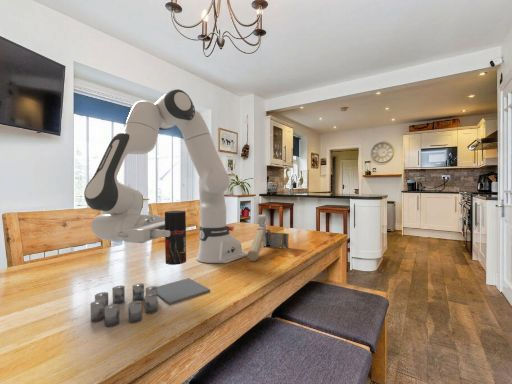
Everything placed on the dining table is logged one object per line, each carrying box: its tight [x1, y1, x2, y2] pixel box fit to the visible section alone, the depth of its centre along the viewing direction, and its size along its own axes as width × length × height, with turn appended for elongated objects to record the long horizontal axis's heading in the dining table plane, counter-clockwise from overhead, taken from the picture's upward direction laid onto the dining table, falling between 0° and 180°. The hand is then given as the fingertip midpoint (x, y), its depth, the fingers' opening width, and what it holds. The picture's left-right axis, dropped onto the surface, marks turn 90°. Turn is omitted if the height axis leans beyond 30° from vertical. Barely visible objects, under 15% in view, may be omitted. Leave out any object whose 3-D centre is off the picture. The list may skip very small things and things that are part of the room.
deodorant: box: [164, 210, 187, 266], centre depth 79 cm, size 6×6×15 cm
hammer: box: [246, 214, 267, 262], centre depth 126 cm, size 16×5×30 cm
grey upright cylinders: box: [89, 282, 159, 328], centre depth 69 cm, size 16×16×4 cm
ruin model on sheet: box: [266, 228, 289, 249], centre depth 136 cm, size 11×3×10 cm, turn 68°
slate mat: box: [156, 277, 211, 305], centre depth 81 cm, size 13×13×1 cm
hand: (178, 230), depth 79 cm, fingers closed on deodorant, 6 cm apart
